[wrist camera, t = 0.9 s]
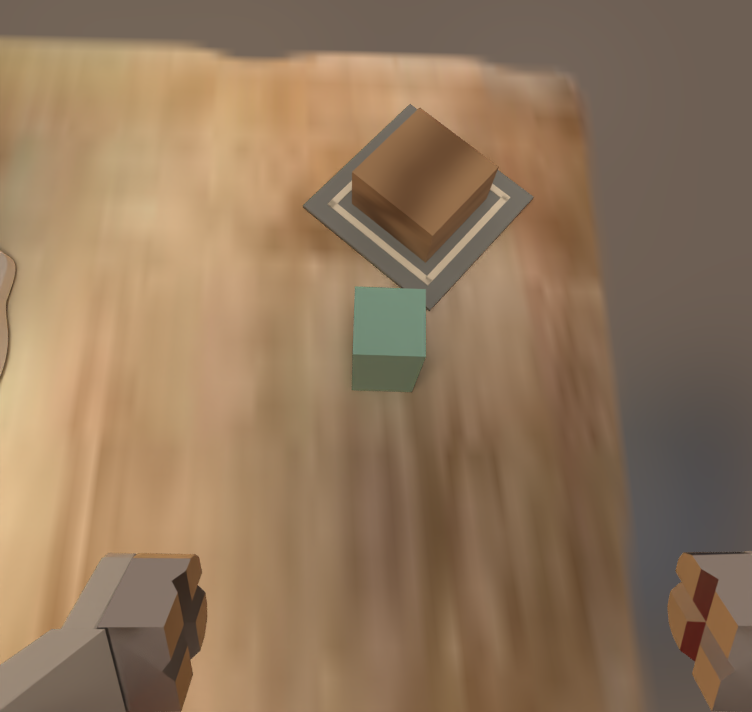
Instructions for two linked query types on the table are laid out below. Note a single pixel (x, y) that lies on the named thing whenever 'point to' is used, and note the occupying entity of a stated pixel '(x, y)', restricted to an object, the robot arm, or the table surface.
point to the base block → (422, 184)
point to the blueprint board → (393, 256)
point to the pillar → (388, 338)
